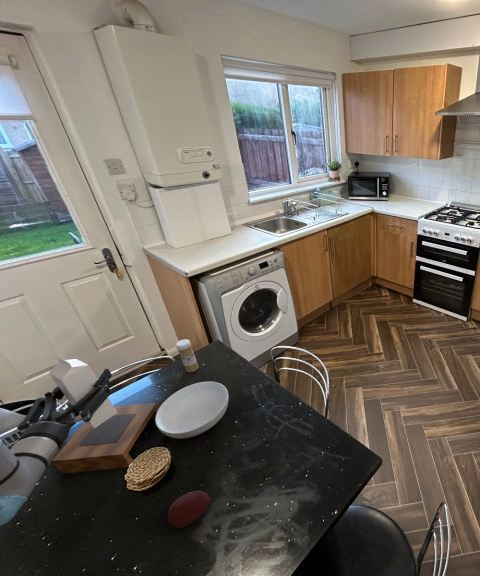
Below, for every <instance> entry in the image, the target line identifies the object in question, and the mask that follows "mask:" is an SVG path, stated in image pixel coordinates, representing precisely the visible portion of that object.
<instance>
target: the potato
mask: <svg viewBox="0 0 480 576" xmlns="http://www.w3.org/2000/svg"><path fill="white" fill-rule="evenodd" d="M210 500H211V498H210V496H209V494H208V493H207V492H206V491H203V490H193V491H190V492H188V493H185V494H184V495H182V496H180V497H178V498H176V499H175V500H174V501H173V502H172V504H171V505H170V507H169V508H168V511H167V521H168V523H169V524H170V526H172V527H173V528H175V529H185V528H186V527H188V526H190V525H192V524H194V523H195V522H196V521H197V520H199V519H200V518H201V516H202V515H203V514H204V513H205V512H206V510H207V509H208V507H209V506H210V502H211V501H210Z"/></svg>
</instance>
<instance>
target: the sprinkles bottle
mask: <svg viewBox="0 0 480 576" xmlns="http://www.w3.org/2000/svg"><path fill="white" fill-rule="evenodd" d="M175 347H176V350H178V353H179V356H180V359H181V361H182V364H183V366H184V368H185V372H187V373H195V372H196V371H197V370H198V369H199V364H198V362H197V358H196V356H195V353H194V350H193V348H192V344H191V341H190V340H189V339H186V338H184V339H181V340H178V341H177V342H176V344H175Z"/></svg>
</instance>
